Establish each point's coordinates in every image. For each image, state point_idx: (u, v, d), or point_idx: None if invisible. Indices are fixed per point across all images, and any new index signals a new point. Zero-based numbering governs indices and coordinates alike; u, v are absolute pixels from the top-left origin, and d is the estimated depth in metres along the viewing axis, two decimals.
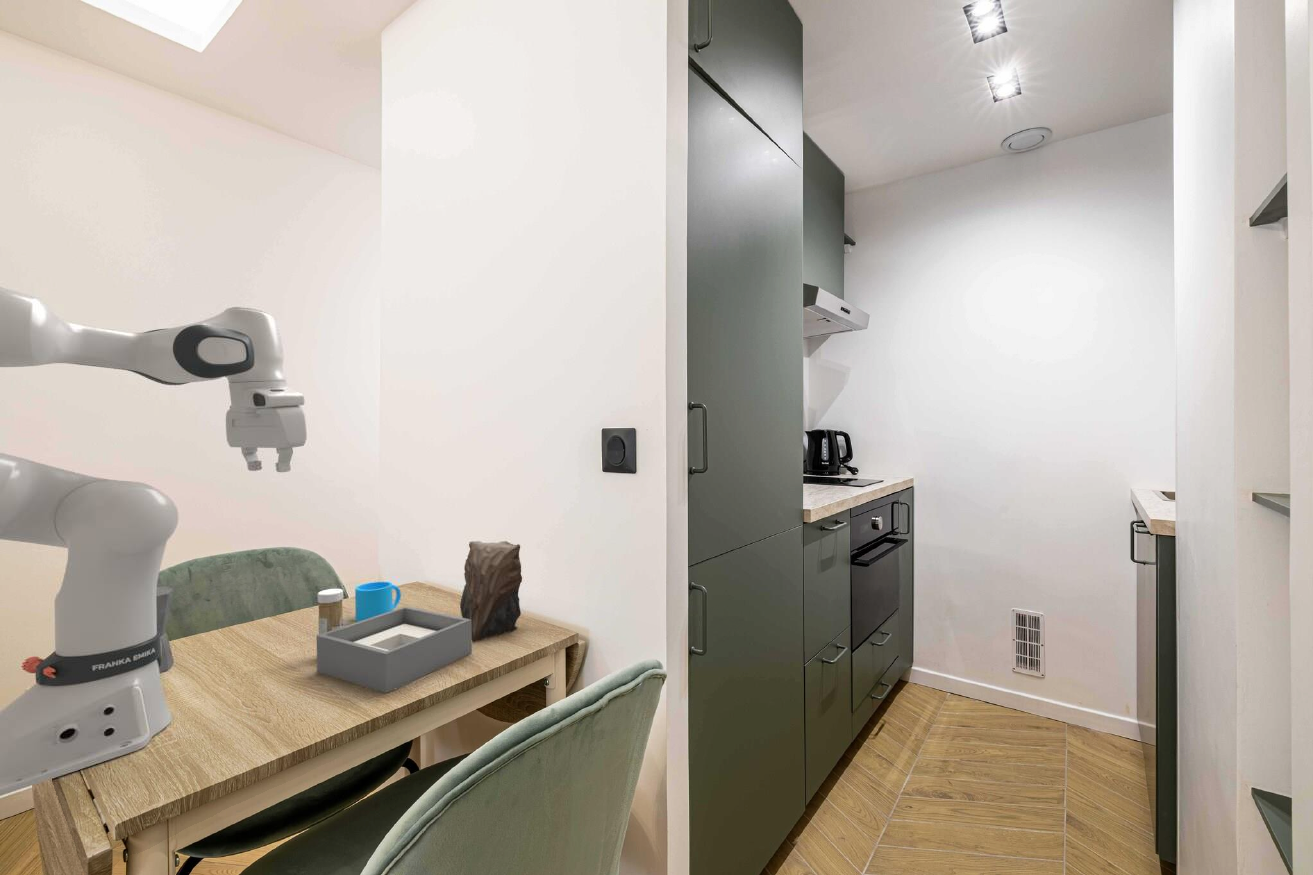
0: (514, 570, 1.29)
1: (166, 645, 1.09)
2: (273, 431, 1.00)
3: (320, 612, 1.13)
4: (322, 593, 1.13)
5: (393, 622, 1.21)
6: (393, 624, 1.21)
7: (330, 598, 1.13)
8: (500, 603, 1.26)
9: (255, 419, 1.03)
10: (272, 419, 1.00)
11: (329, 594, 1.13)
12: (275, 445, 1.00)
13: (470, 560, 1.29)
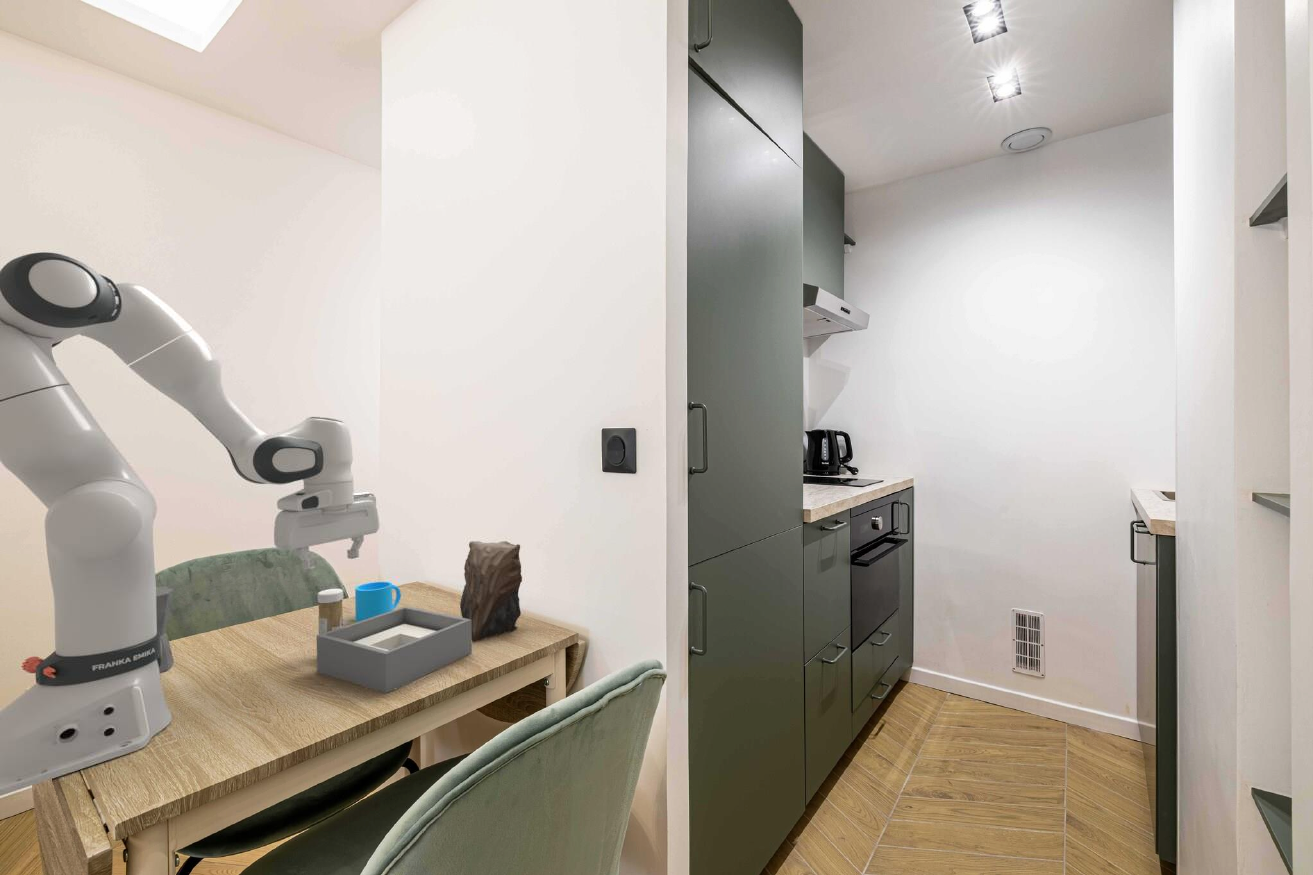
0: (514, 570, 1.29)
1: (166, 645, 1.09)
2: None
3: (320, 612, 1.13)
4: (322, 593, 1.13)
5: (393, 622, 1.21)
6: (393, 624, 1.21)
7: (330, 598, 1.13)
8: (500, 603, 1.26)
9: None
10: None
11: (329, 594, 1.13)
12: None
13: (470, 560, 1.29)
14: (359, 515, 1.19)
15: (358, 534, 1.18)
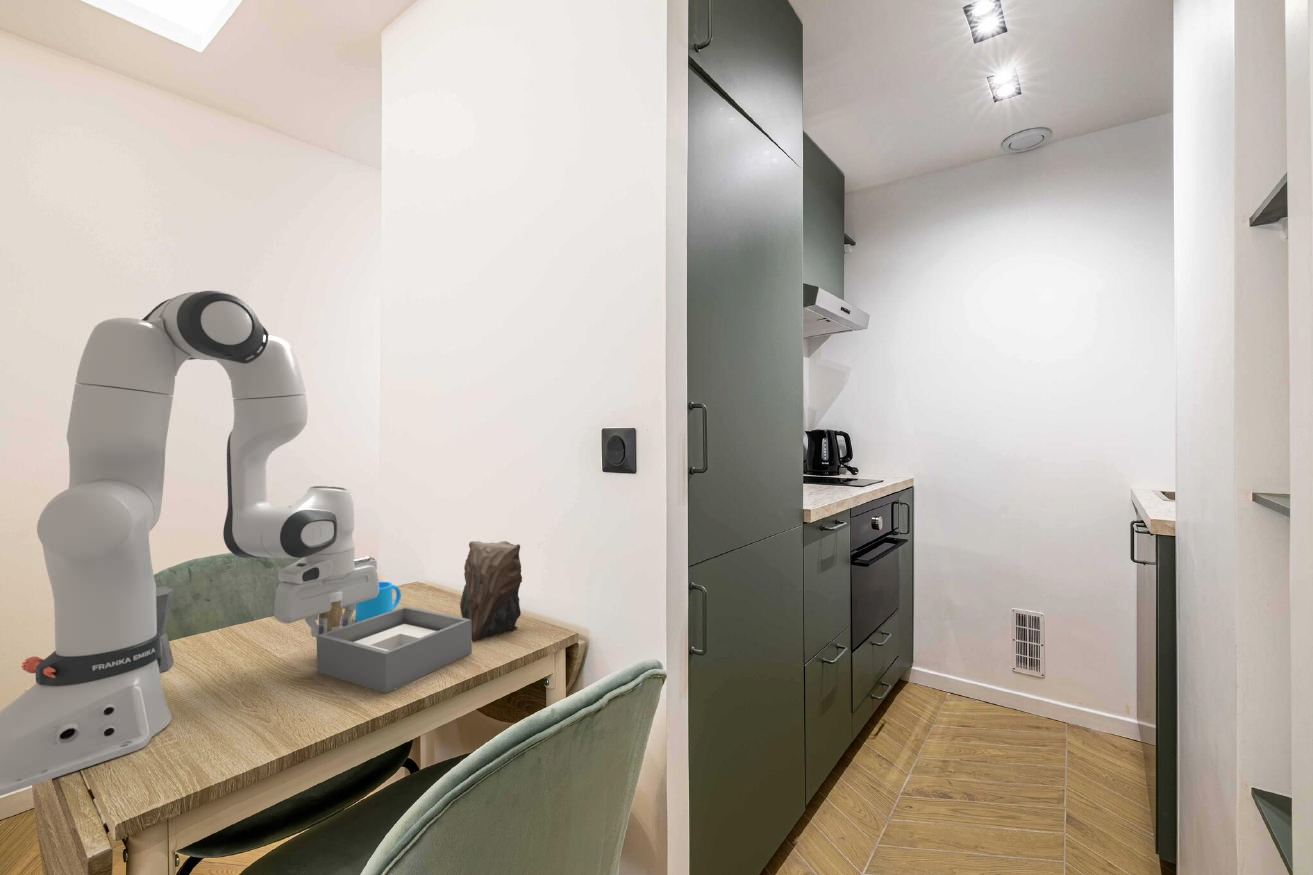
0: (514, 570, 1.29)
1: (166, 645, 1.09)
2: None
3: None
4: None
5: (393, 622, 1.21)
6: (393, 624, 1.21)
7: (330, 597, 1.13)
8: (500, 603, 1.26)
9: None
10: None
11: None
12: None
13: (470, 560, 1.29)
14: (359, 582, 1.19)
15: (358, 601, 1.18)
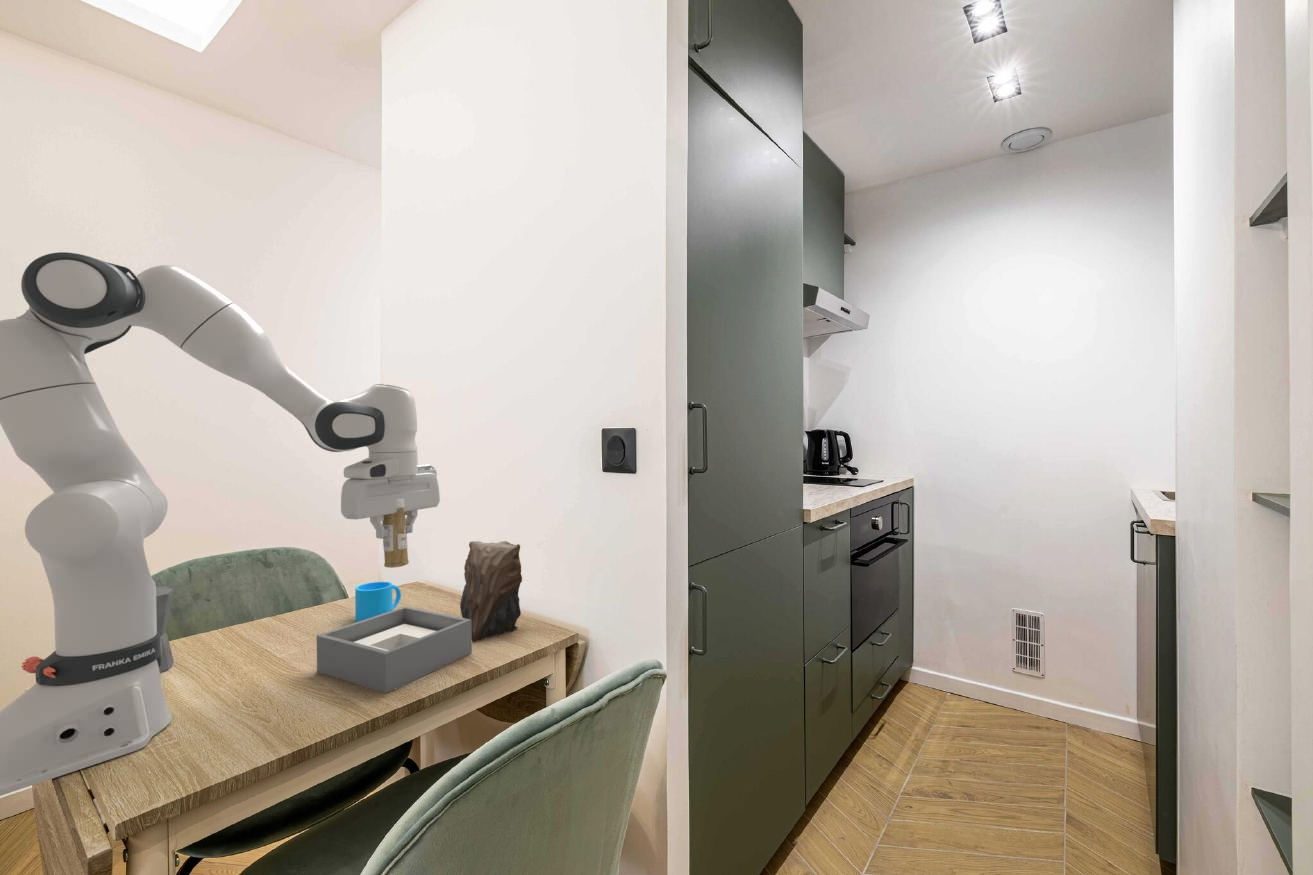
0: (514, 570, 1.29)
1: (166, 645, 1.09)
2: None
3: (384, 519, 1.10)
4: None
5: (393, 622, 1.21)
6: (393, 624, 1.21)
7: None
8: (500, 603, 1.26)
9: None
10: None
11: None
12: None
13: (470, 560, 1.29)
14: (421, 488, 1.15)
15: (420, 507, 1.15)
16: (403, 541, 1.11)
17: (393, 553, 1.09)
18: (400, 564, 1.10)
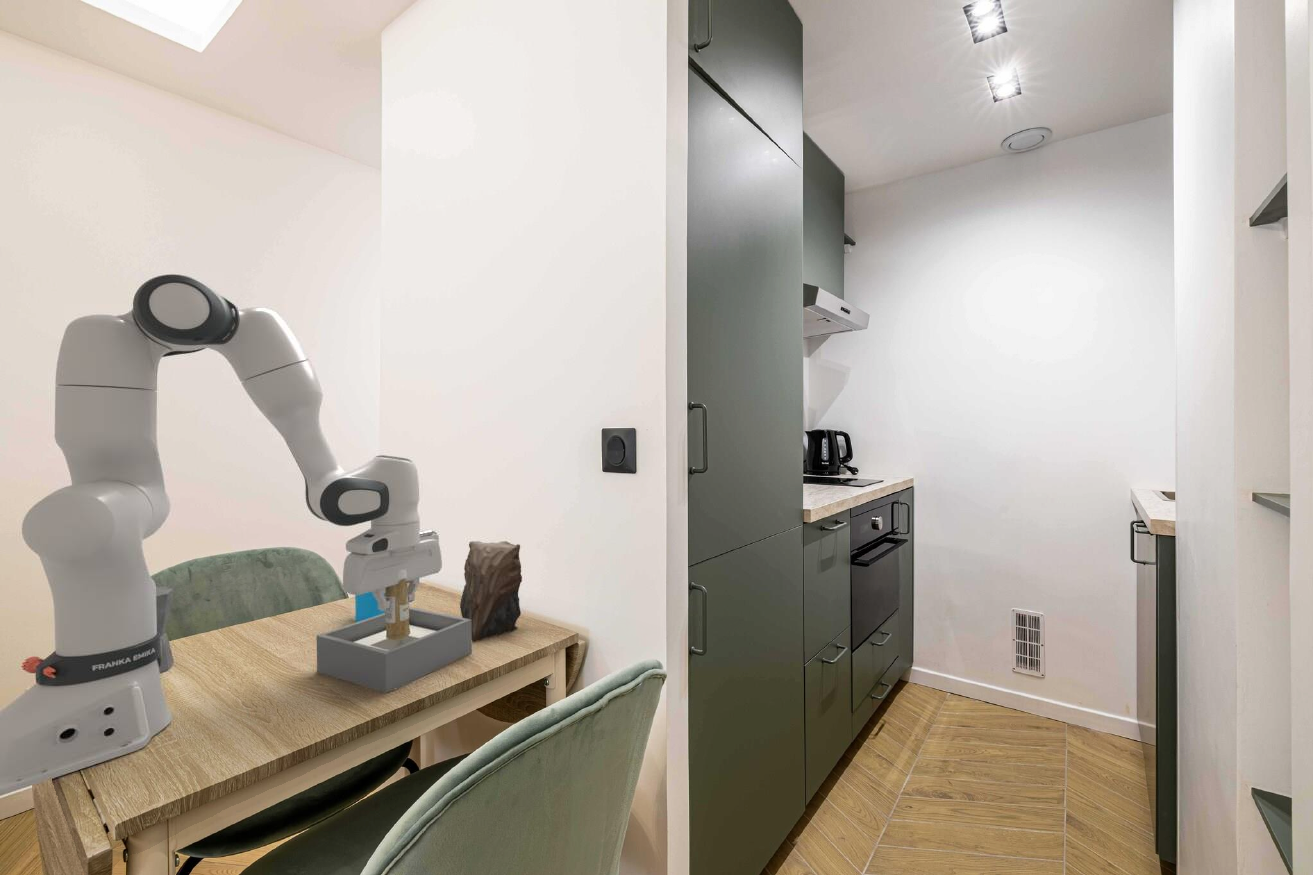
0: (514, 570, 1.29)
1: (166, 645, 1.09)
2: None
3: (387, 590, 1.10)
4: None
5: None
6: None
7: None
8: (500, 603, 1.26)
9: None
10: None
11: None
12: None
13: (470, 560, 1.29)
14: (423, 555, 1.15)
15: (422, 575, 1.15)
16: (405, 612, 1.11)
17: (395, 625, 1.09)
18: (402, 636, 1.10)
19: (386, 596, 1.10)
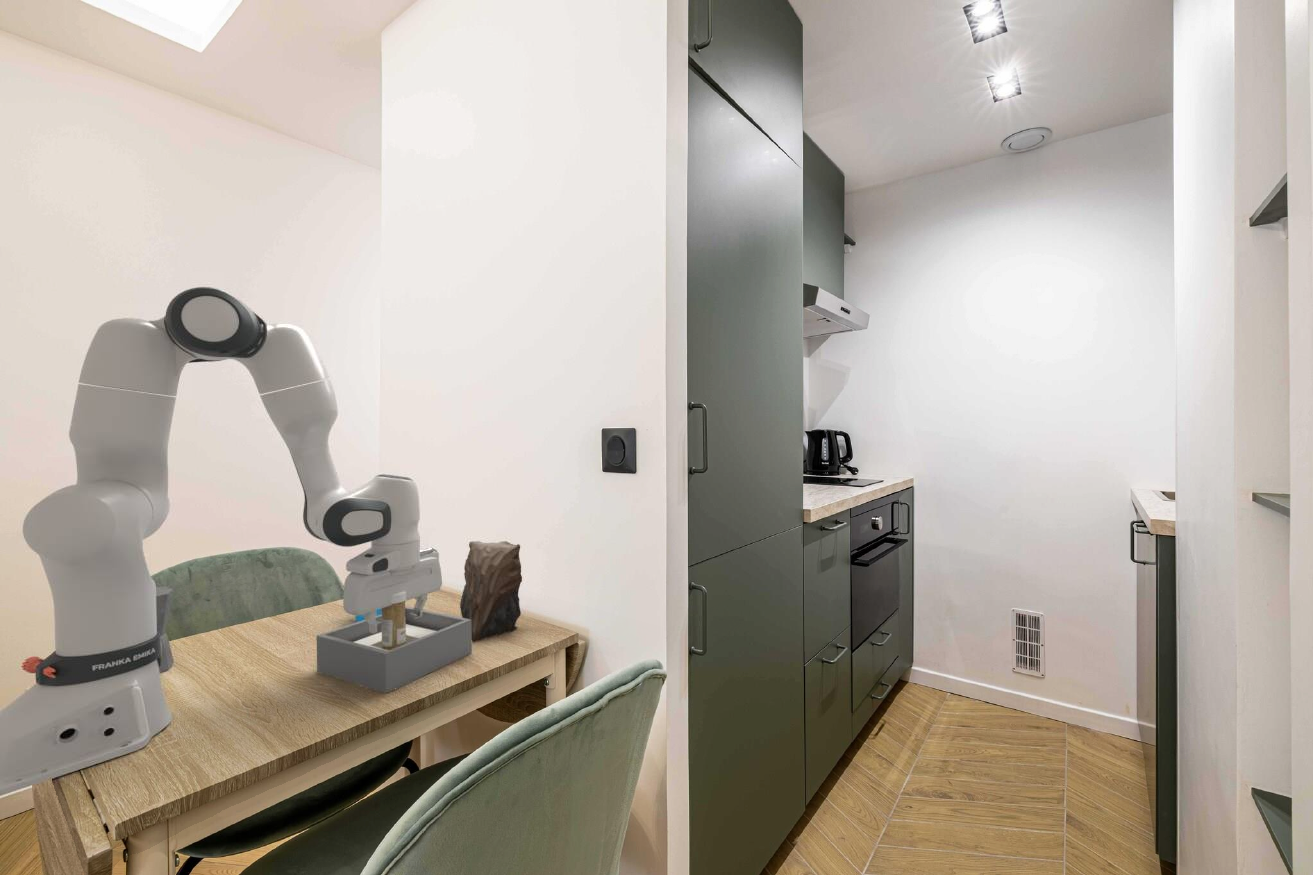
0: (514, 570, 1.29)
1: (166, 645, 1.09)
2: None
3: (384, 614, 1.09)
4: None
5: None
6: None
7: (395, 598, 1.09)
8: (500, 603, 1.27)
9: None
10: None
11: (394, 595, 1.09)
12: None
13: (470, 560, 1.29)
14: (423, 574, 1.15)
15: (422, 593, 1.15)
16: (402, 635, 1.10)
17: None
18: None
19: (383, 619, 1.09)
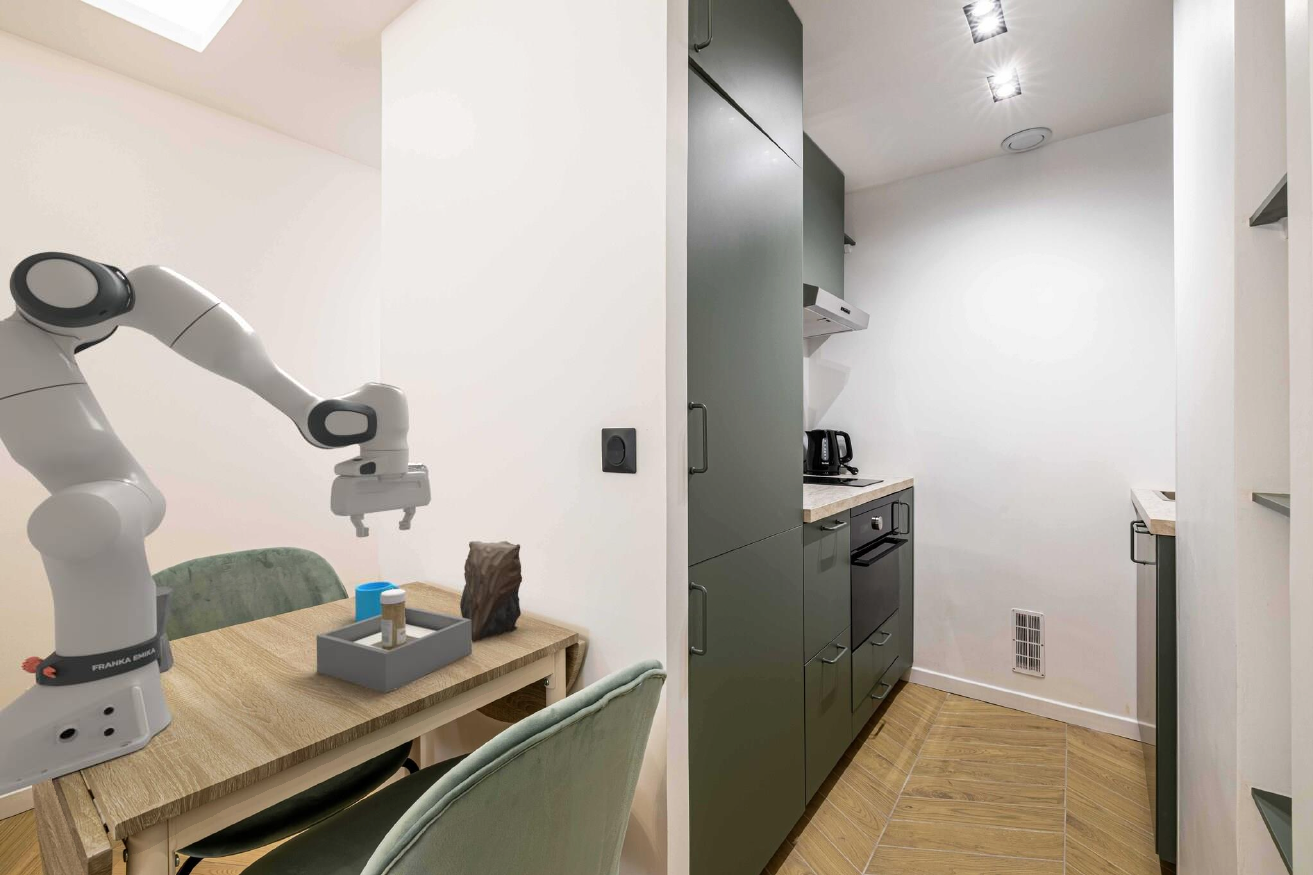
0: (514, 570, 1.29)
1: (166, 645, 1.09)
2: None
3: (384, 614, 1.09)
4: (387, 594, 1.09)
5: None
6: None
7: (395, 598, 1.09)
8: (500, 603, 1.27)
9: None
10: None
11: (394, 595, 1.09)
12: None
13: (470, 560, 1.30)
14: (412, 486, 1.16)
15: (411, 505, 1.16)
16: (402, 635, 1.10)
17: None
18: None
19: (383, 619, 1.09)
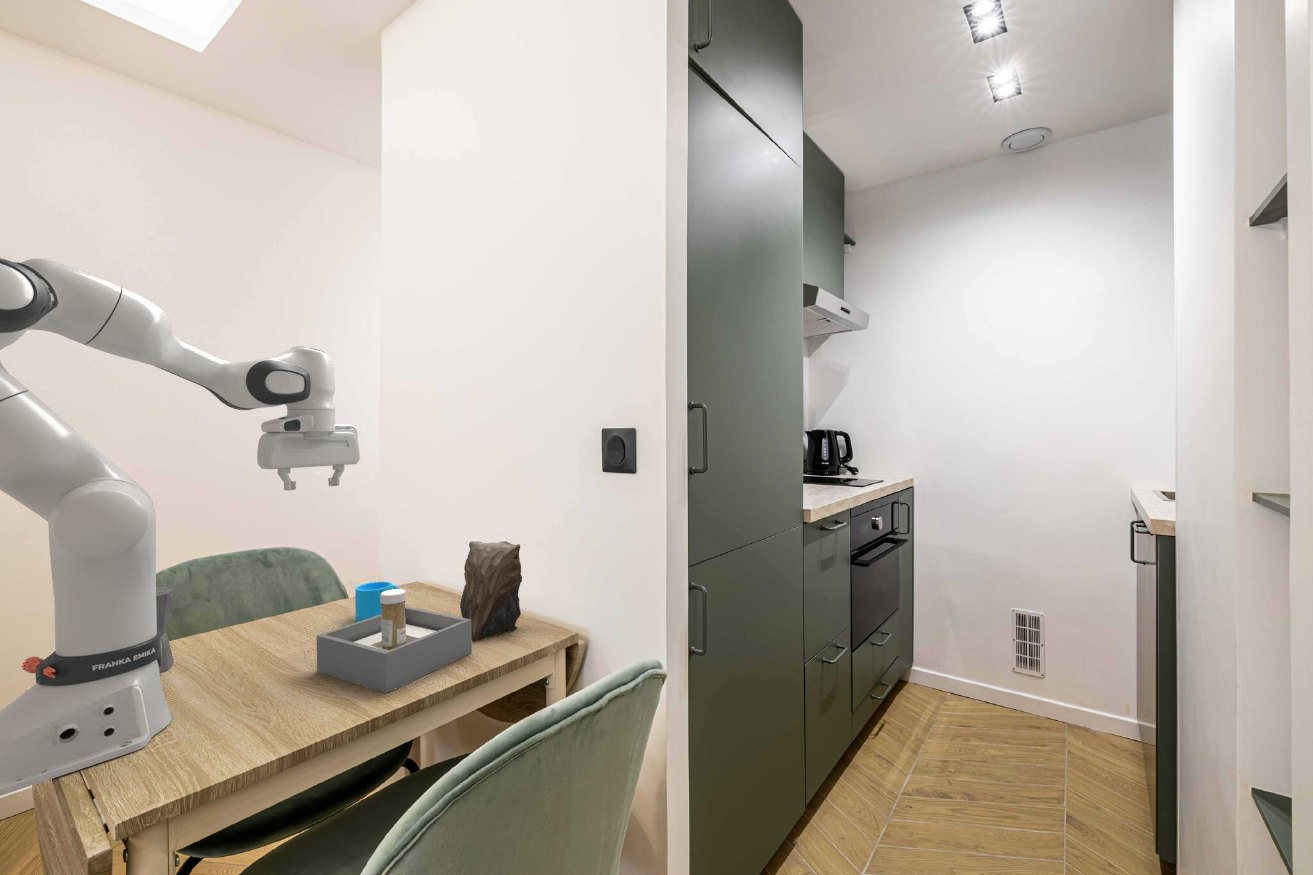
0: (514, 570, 1.29)
1: (166, 645, 1.09)
2: None
3: (384, 614, 1.09)
4: (387, 594, 1.09)
5: None
6: None
7: (395, 598, 1.09)
8: (500, 603, 1.26)
9: None
10: None
11: (394, 595, 1.09)
12: None
13: (470, 560, 1.29)
14: (340, 445, 1.24)
15: (339, 463, 1.24)
16: (402, 635, 1.10)
17: None
18: None
19: (383, 619, 1.09)
